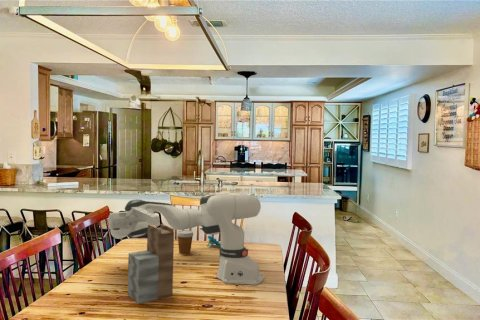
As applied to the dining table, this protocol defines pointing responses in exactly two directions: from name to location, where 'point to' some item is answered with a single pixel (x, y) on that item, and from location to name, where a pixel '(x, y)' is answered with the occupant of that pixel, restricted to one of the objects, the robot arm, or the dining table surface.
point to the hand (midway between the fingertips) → (137, 210)
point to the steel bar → (145, 215)
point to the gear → (213, 241)
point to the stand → (152, 266)
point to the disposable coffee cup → (185, 241)
